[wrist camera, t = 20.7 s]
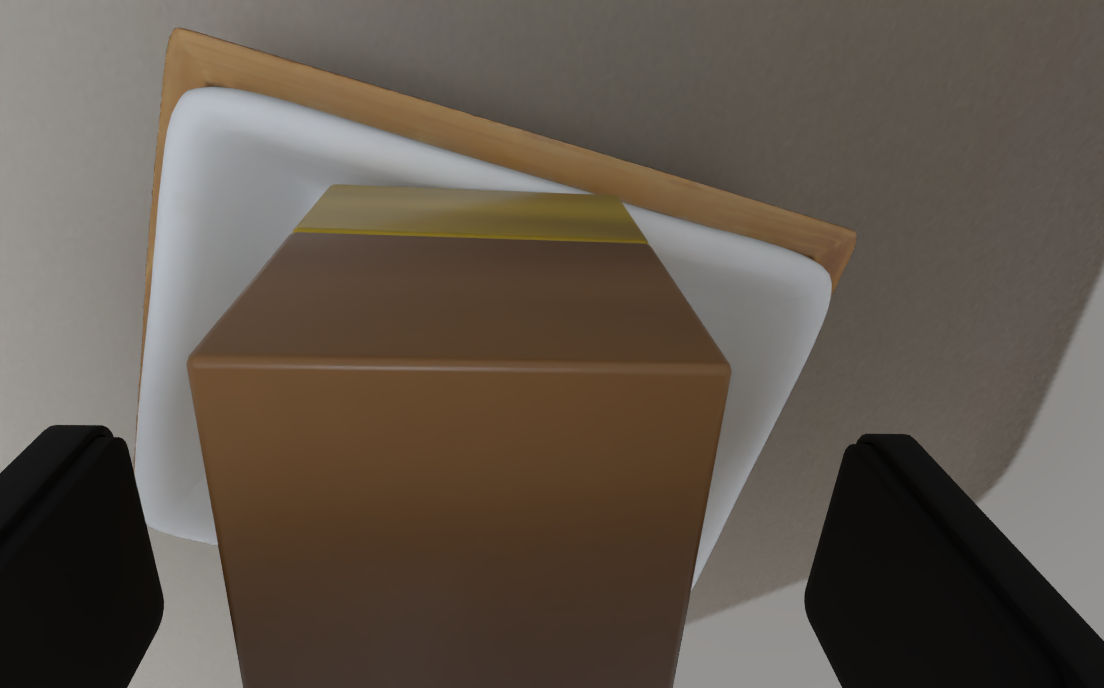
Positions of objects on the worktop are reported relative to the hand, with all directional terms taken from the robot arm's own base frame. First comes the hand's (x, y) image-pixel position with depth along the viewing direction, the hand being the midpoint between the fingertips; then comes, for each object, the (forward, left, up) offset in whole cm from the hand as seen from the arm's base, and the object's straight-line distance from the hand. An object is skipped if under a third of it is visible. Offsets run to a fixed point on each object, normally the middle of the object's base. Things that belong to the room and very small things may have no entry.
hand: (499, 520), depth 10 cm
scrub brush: (+1, 0, -4) cm, 4 cm away
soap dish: (+1, 0, -9) cm, 9 cm away
